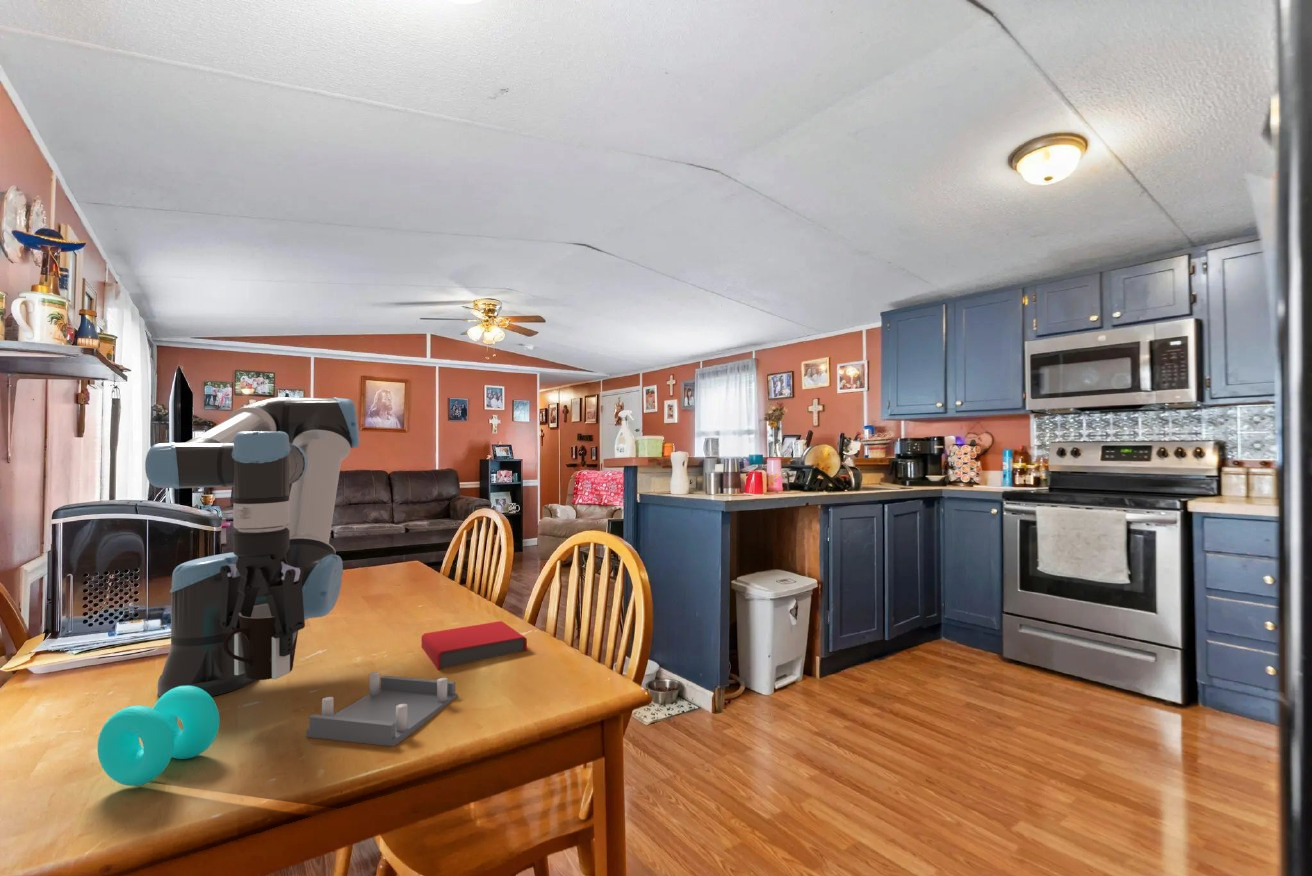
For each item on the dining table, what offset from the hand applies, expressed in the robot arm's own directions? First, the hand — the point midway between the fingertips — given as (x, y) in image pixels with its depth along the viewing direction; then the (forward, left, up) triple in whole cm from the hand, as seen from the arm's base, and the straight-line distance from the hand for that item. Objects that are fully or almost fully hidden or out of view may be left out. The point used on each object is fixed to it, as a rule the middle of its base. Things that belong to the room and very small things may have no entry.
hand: (262, 673), depth 97 cm
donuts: (-2, -15, -8) cm, 17 cm away
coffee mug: (-1, 0, 0) cm, 1 cm away
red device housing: (+17, +36, -9) cm, 40 cm away
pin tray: (+18, +6, -8) cm, 21 cm away
